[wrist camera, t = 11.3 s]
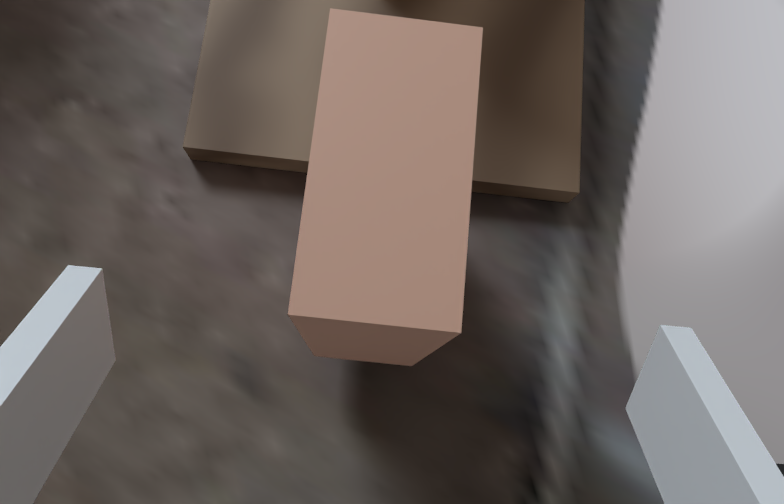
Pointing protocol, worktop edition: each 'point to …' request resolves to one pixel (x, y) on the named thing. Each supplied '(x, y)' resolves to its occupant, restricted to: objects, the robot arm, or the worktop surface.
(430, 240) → the pink beveled block
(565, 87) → the beige and brown block
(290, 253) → the worktop surface
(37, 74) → the worktop surface
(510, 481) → the worktop surface
